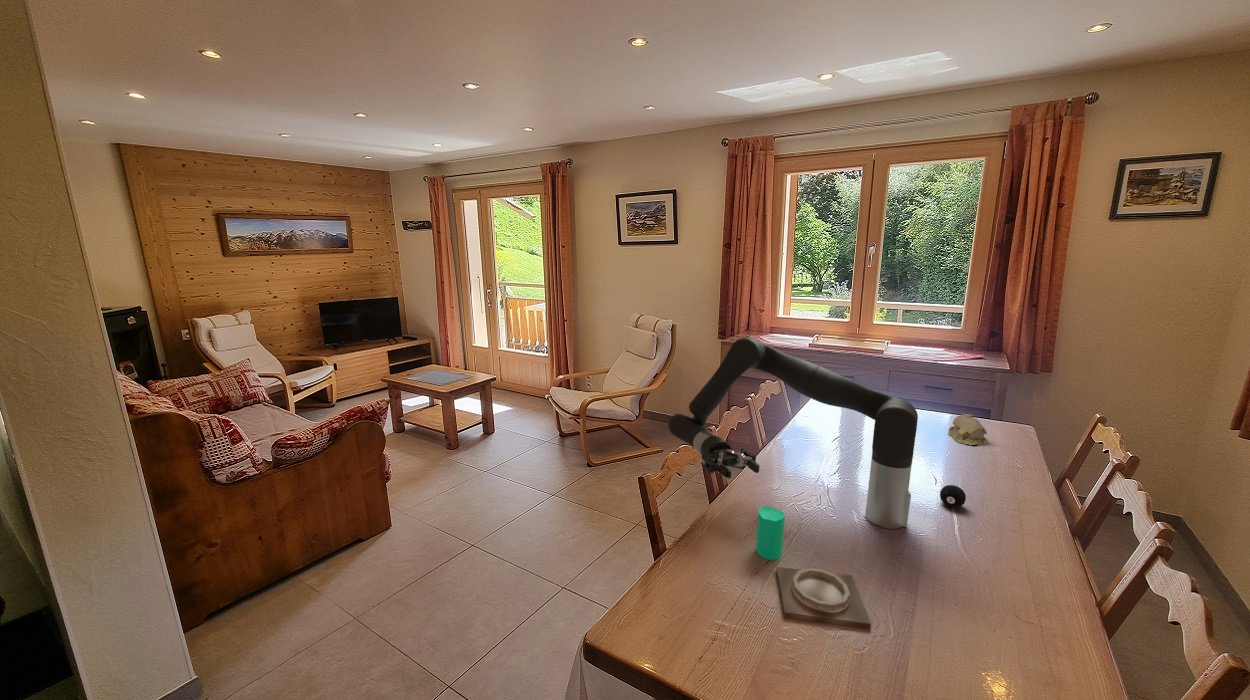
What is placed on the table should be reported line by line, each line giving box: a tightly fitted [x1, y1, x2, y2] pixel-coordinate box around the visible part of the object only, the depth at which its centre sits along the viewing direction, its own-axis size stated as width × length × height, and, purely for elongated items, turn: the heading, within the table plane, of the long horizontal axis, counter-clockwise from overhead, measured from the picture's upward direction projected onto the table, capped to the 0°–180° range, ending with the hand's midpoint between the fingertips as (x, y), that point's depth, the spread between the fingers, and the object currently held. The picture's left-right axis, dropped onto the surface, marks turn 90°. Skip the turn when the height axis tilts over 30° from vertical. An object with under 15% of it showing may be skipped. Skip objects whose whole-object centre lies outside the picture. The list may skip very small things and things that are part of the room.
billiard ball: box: [939, 484, 967, 508], centre depth 135 cm, size 6×6×6 cm
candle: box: [755, 505, 785, 561], centre depth 114 cm, size 6×6×12 cm
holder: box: [775, 566, 872, 630], centre depth 100 cm, size 16×14×3 cm
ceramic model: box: [947, 413, 988, 446], centre depth 180 cm, size 14×11×10 cm
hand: (744, 472), depth 122 cm, fingers open, 8 cm apart
